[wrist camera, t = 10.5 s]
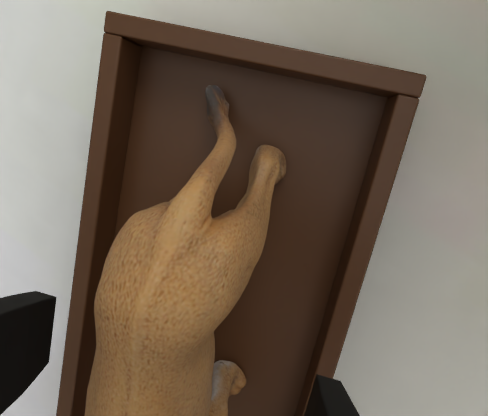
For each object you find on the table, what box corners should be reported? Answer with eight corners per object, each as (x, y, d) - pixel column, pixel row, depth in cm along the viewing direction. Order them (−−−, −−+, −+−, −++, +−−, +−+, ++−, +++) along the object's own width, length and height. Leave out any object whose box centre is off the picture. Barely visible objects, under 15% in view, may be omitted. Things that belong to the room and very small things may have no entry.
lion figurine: (274, 477, 15) (228, 934, 7) (145, 456, 16) (-46, 841, 7) (294, 87, 12) (261, -8, 4) (135, 85, 13) (-206, 3, 4)
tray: (280, 508, 16) (276, 560, 14) (76, 440, 17) (47, 479, 15) (409, 83, 12) (427, 74, 10) (135, 27, 13) (105, 10, 11)
